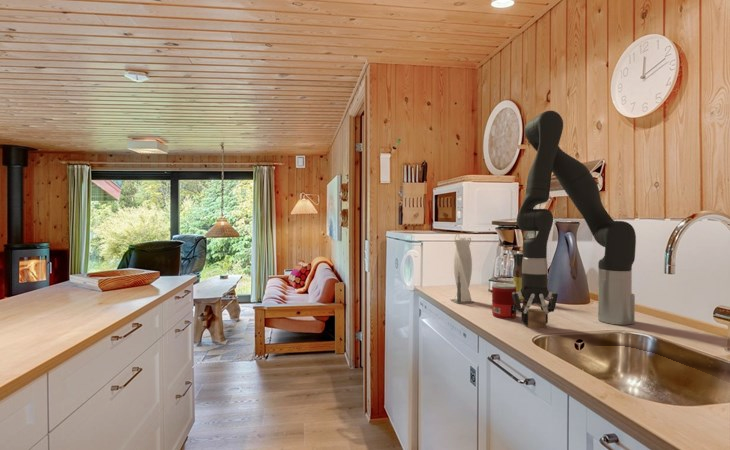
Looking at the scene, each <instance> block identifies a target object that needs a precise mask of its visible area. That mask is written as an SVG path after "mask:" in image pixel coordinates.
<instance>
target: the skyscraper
mask: <svg viewBox="0 0 730 450" xmlns="http://www.w3.org/2000/svg"><path fill="white" fill-rule="evenodd" d="M471 241H472V238H471V237H468V238H467V237H460V233H457V234H455V236H454V244H455V251H454V256H453V257H454V259H453V273H454V281H455V286H456V291H455V295H454V298H452V299H451V298H450V299H449V301H451V302H453V303H455V304H457V305H461V304H465V305H466V304H475V301H473V300H472V297H471V296H472V295H471V292H470V284H471V278H472V273H473V272H472V271H473V259H472V258H473V256H472V253H471V247H470V245H471Z"/></svg>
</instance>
